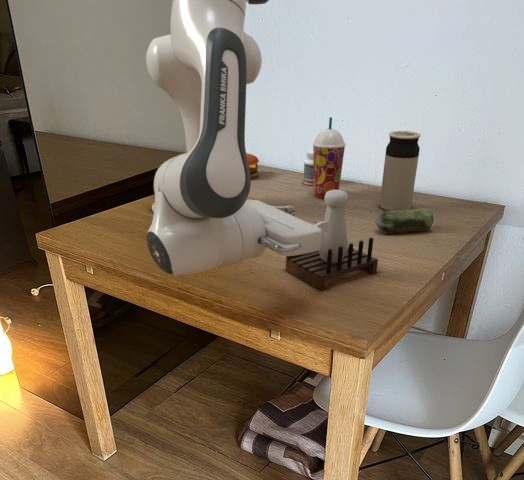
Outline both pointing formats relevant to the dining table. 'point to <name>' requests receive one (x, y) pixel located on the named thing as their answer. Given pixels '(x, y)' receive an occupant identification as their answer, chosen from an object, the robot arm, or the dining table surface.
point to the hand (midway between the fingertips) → (309, 217)
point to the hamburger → (252, 165)
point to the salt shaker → (334, 225)
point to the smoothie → (327, 160)
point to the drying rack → (330, 264)
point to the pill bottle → (309, 169)
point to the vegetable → (405, 220)
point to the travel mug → (399, 170)
